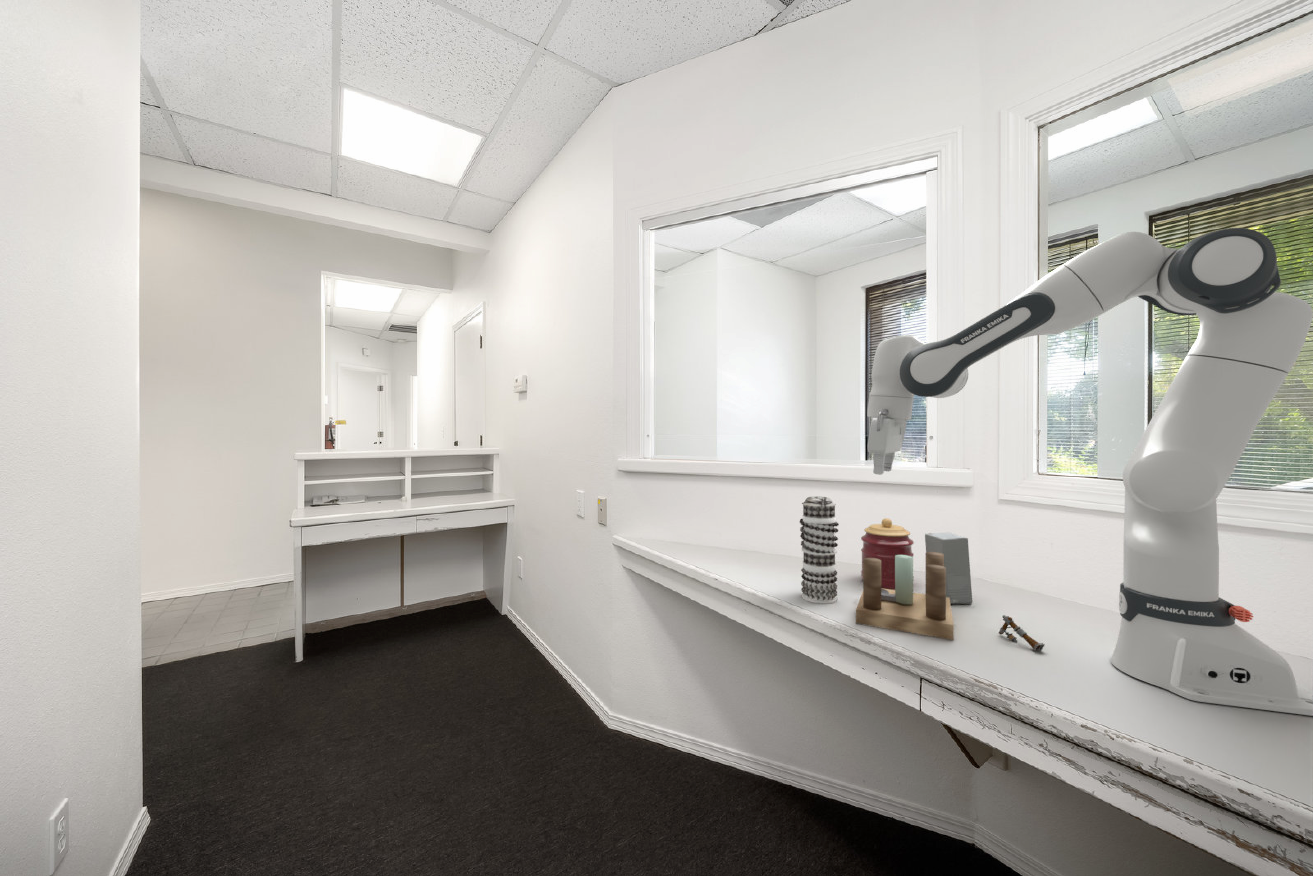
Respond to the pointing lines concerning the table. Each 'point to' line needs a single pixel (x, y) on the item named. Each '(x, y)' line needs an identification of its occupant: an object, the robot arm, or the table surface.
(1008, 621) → the wooden post with brackets
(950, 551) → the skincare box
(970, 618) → the table surface
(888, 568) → the canister
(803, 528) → the decorative candle
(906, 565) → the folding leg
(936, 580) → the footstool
